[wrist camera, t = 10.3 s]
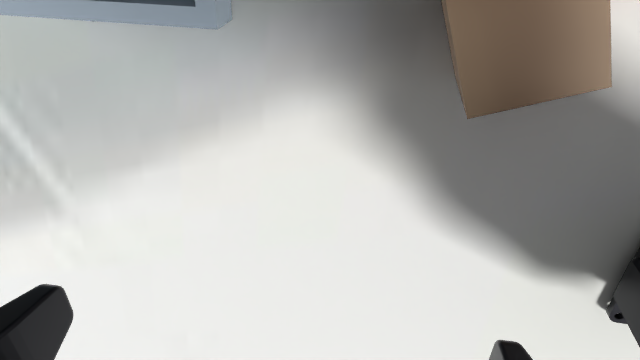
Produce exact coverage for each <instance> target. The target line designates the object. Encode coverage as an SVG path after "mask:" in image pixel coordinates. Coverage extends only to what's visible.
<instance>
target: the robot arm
mask: <svg viewBox="0 0 640 360" xmlns="http://www.w3.org/2000/svg"><path fill="white" fill-rule="evenodd" d="M606 312H607V314H608V316H609V318H610V320H611V321H613V322H617V323H624V324H628V326H629V328H630V330H631V332H632V333H633V335H634V337H635V339H636V341H637V343H638V345H639V347H640V247H639V249H638V251H637V253H636V255H635V257H634V259H633V260H632V261H631V262H630V264H629V265H628V267H627V269H626V271H625V273H624V275H623V277H622V279H621V281H620V283H619V284H618V286H617V288H616V290H615V292H614V294H613V298H612V300H611V302H610V304H609V306H608V308H607V311H606ZM72 320H73V310H72V307H71V305H70V303H69V300H68V298H67V295H66V293H65V290H64V289H63V288H62V287H61V286H57V285H49V284H42V285H39V286H37V287H35V288H33V289H32V290H30V291H28V292H26V293H25V294H23V295H21V296H19V297H18V298H16V299H14V300H12V301H11V302H9V303H7V304H5V305H3V306H2V307H0V360H54V359H55V357H56V355H57V353H58V350H59V348H60V346H61V344H62V342H63V340H64V338H65V336H66V334H67V332H68V330H69V327H70V325H71V323H72ZM489 360H533V359H532V358H531V357H530V355H529V354H528V353H527V352H526V350H525V349H524V348H523V347H522V345H520V344H519V343H517V342H513V341H505V340H498V341H496V342H495V344H494V347H493V350H492V352H491V355H490V358H489Z"/></svg>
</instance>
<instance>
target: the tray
mask: <svg viewBox="0 0 640 360" xmlns="http://www.w3.org/2000/svg"><path fill="white" fill-rule="evenodd" d="M0 15H11V16H26V17H41V18H56V19H71V20H85V21H100V22H115V23H130V24H145V25H160V26H175V27H190V28H204V29H219V28H220V27H222V26H223V25H224V24H226V23H227V22H229V21H230V20H232V11H231V0H0Z"/></svg>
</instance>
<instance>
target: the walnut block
mask: <svg viewBox="0 0 640 360" xmlns="http://www.w3.org/2000/svg"><path fill="white" fill-rule="evenodd" d="M441 3H442V8H443V13H444V19H445V24H446V29H447V35H448V40H449V45H450V51H451V56H452V61H453V67H454V72H455V77H456V81H457V84H458V88H459V91H460V95H461V98H462V102H463V105H464V109H465V112H466V116H467V119H470V118H474V117H479V116H483V115H488V114H492V113H497V112H501V111H506V110H510V109H515V108H519V107H524V106H528V105H533V104H537V103H542V102H546V101H551V100H555V99H560V98H564V97H569V96H573V95H577V94H582V93H586V92H591V91H595V90H600V89H604V88H609V87H612V85H611V22H610V0H441Z"/></svg>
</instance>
